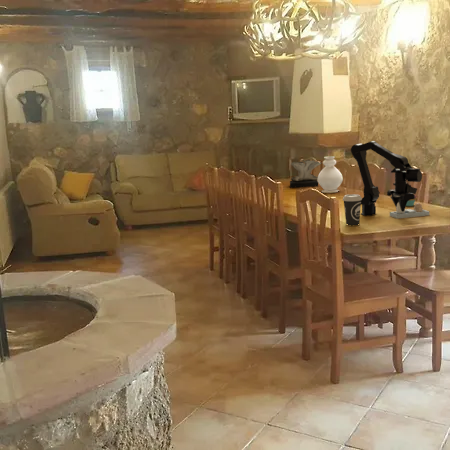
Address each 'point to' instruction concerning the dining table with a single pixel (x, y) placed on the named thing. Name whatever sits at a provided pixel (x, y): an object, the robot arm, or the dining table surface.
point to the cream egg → (399, 209)
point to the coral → (304, 174)
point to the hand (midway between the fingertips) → (400, 210)
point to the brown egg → (418, 207)
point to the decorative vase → (330, 176)
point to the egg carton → (409, 214)
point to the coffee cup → (352, 208)
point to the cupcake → (411, 202)
